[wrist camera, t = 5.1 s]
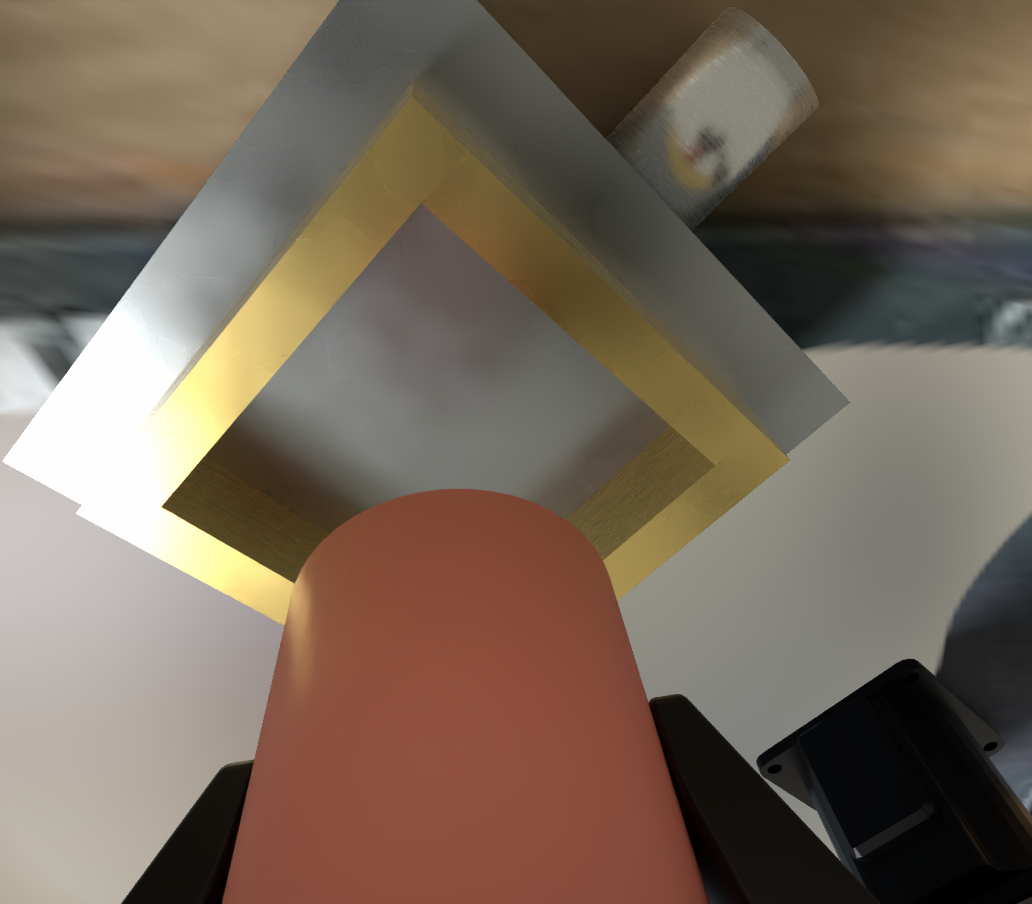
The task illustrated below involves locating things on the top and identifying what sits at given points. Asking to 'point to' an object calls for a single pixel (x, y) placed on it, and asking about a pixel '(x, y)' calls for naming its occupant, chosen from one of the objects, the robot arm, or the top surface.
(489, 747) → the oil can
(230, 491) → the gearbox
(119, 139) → the top surface
